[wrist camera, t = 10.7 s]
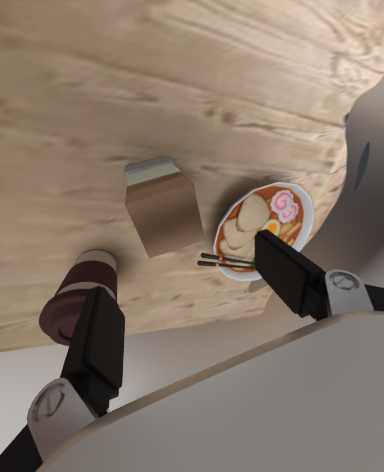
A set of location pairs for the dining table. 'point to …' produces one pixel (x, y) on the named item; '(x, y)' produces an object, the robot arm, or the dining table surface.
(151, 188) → the walnut cube
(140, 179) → the tower mid
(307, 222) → the ramen bowl
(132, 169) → the tower base
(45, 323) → the coffee cup
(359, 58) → the dining table surface
